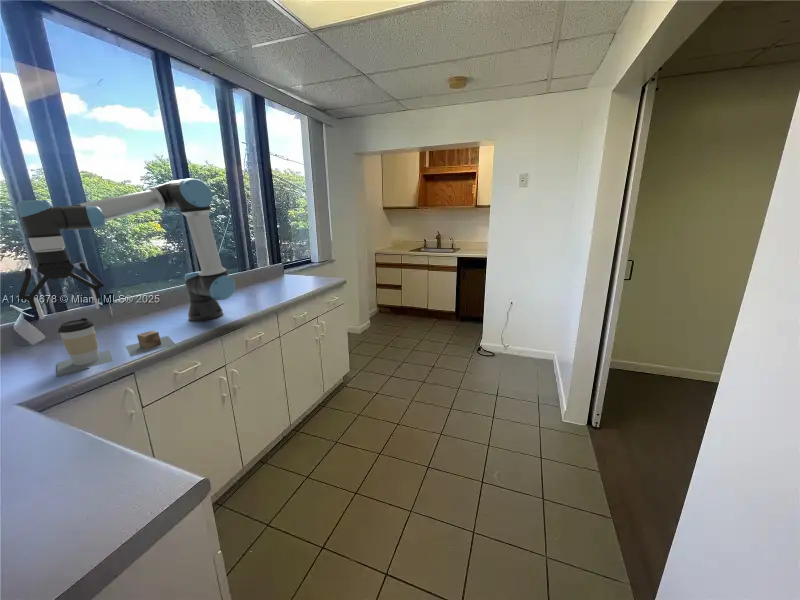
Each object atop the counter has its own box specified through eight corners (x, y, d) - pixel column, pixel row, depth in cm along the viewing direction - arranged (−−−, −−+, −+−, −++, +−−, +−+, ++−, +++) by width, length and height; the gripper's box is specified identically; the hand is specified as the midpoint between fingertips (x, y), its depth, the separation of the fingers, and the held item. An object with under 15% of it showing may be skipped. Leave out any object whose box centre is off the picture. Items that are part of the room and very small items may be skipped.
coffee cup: (82, 367, 111) (69, 326, 107) (62, 366, 112) (48, 325, 109) (110, 356, 119) (99, 317, 115) (90, 354, 121) (79, 316, 117)
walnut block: (153, 342, 132) (150, 330, 130) (161, 343, 130) (158, 332, 128) (140, 346, 127) (136, 334, 126) (147, 348, 125) (144, 336, 124)
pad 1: (109, 351, 125) (109, 350, 125) (113, 362, 116) (112, 360, 115) (58, 363, 116) (57, 362, 116) (57, 376, 106) (56, 375, 106)
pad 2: (168, 337, 138) (167, 336, 138) (176, 346, 128) (175, 344, 128) (126, 347, 129) (125, 346, 128) (131, 357, 119) (130, 356, 119)
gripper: (100, 245, 116) (117, 302, 122) (-8, 254, 99) (17, 320, 105) (102, 246, 111) (119, 305, 117) (-12, 256, 94) (15, 325, 100)
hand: (71, 312), depth 111 cm, fingers open, 13 cm apart
